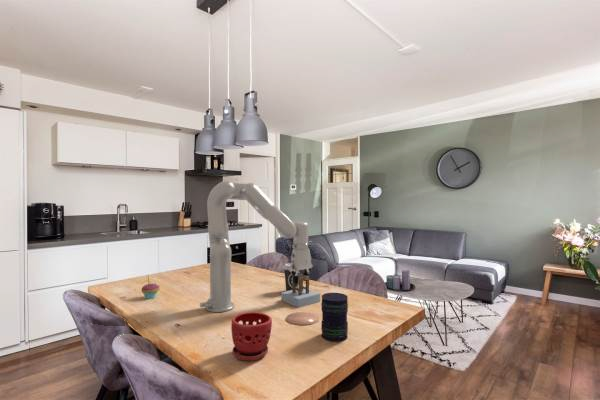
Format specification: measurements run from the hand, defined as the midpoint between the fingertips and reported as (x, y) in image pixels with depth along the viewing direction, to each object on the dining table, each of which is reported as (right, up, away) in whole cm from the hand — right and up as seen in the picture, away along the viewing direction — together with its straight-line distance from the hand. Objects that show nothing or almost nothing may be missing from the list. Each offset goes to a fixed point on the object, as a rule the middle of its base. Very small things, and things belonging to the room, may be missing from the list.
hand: (300, 281), depth 160 cm
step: (0, -10, 0) cm, 10 cm away
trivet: (+1, -10, -24) cm, 26 cm away
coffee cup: (-5, -10, +17) cm, 20 cm away
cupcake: (-78, -10, +5) cm, 79 cm away
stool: (0, -6, 0) cm, 6 cm away
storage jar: (+13, -10, -42) cm, 45 cm away
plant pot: (-16, -10, -55) cm, 59 cm away
